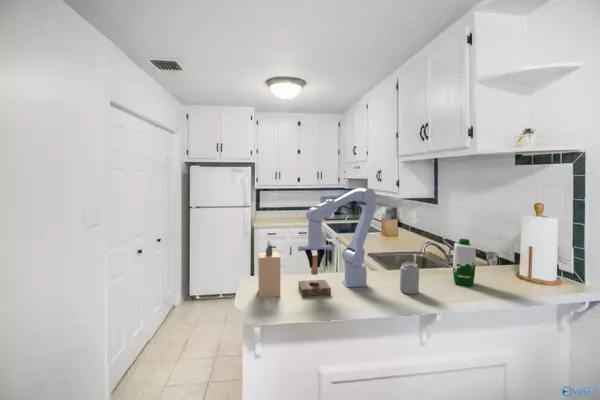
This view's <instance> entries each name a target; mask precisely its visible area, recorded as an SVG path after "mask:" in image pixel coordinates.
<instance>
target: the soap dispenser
mask: <svg viewBox="0 0 600 400" xmlns="http://www.w3.org/2000/svg"><path fill="white" fill-rule="evenodd" d="M257 253H258V254H257V255H258V256H257V258H258V259H257V260H258V261H257V263H258V264H257V266H258V269H257V270H258V271H257V275H258V277H257V278H258V290H257V291H258V296H259V298H270V297H272V298H273V297H281V255H280V252H279V251H273V245H272V242H271V240H267V247H266V248H265V252H257Z"/></svg>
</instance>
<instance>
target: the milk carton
mask: <svg viewBox="0 0 600 400" xmlns="http://www.w3.org/2000/svg"><path fill="white" fill-rule="evenodd" d="M476 248H477V247H476V246H475V245H474V244H473V243H470V239H468V238H459V241H458V242H454V244H453V259H452V260H453V261H452V275H453V282H454V284H455V285H457V286H462V285H465V286H464V287H470V286H473V287H474V281H475V276H476V255H477V250H476Z"/></svg>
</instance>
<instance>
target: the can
mask: <svg viewBox="0 0 600 400" xmlns="http://www.w3.org/2000/svg"><path fill="white" fill-rule="evenodd" d="M418 266H419V265H418V264H416V263H414V262H403V263H401V266H400V268H399V269H400V270H399V271H400V273H399V274H400V275H399V290H400V291H401V293H403V294H406V295H416V294H417V293H419V291H420V289H419V285H420V284H419V283H420V267H418Z"/></svg>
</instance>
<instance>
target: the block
mask: <svg viewBox="0 0 600 400" xmlns="http://www.w3.org/2000/svg"><path fill="white" fill-rule="evenodd" d="M298 290H299V292H300V295H301V297H303V298H304V297H319V296H331V295H332V287H331V286H330V285H329V283H328V281H327V280H326V279H315V280H314V279H313V280H311V279H309V280H298Z"/></svg>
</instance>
